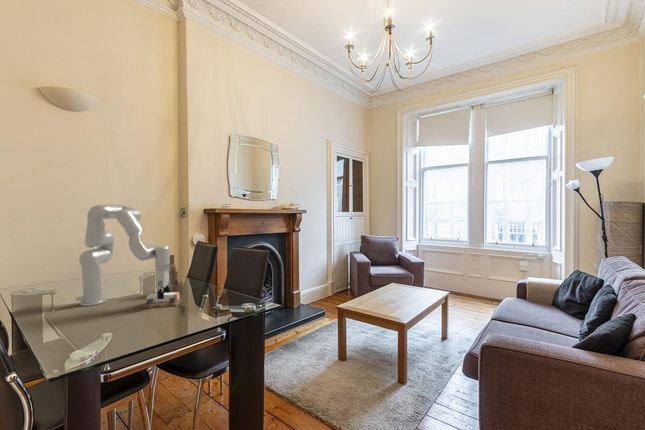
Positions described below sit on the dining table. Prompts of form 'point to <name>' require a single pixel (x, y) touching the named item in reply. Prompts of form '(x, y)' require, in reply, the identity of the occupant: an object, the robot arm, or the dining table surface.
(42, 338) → the dining table surface
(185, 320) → the dining table surface
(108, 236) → the robot arm
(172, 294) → the block
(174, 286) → the wooden toy
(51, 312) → the dining table surface
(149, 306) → the brown fixture board
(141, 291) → the dining table surface
